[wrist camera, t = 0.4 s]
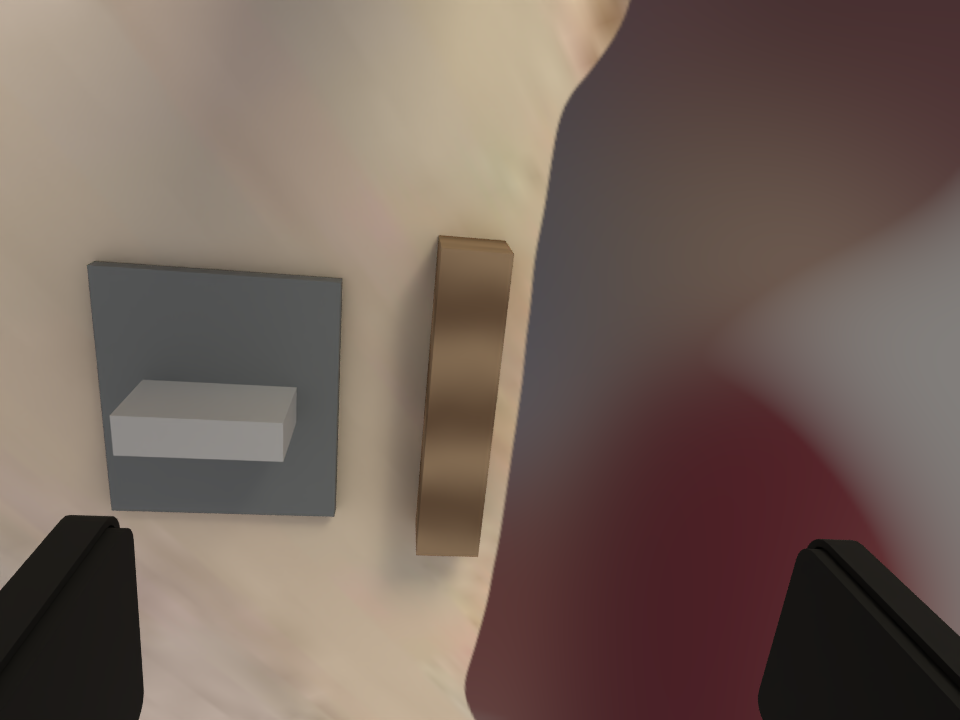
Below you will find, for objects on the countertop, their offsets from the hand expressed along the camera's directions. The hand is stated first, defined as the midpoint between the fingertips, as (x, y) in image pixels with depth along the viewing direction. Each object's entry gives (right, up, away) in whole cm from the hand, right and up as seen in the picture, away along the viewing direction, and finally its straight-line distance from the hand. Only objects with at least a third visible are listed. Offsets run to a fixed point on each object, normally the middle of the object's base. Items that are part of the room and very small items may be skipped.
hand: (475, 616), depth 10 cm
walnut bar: (-1, +2, +36) cm, 36 cm away
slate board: (-16, +1, +34) cm, 38 cm away
